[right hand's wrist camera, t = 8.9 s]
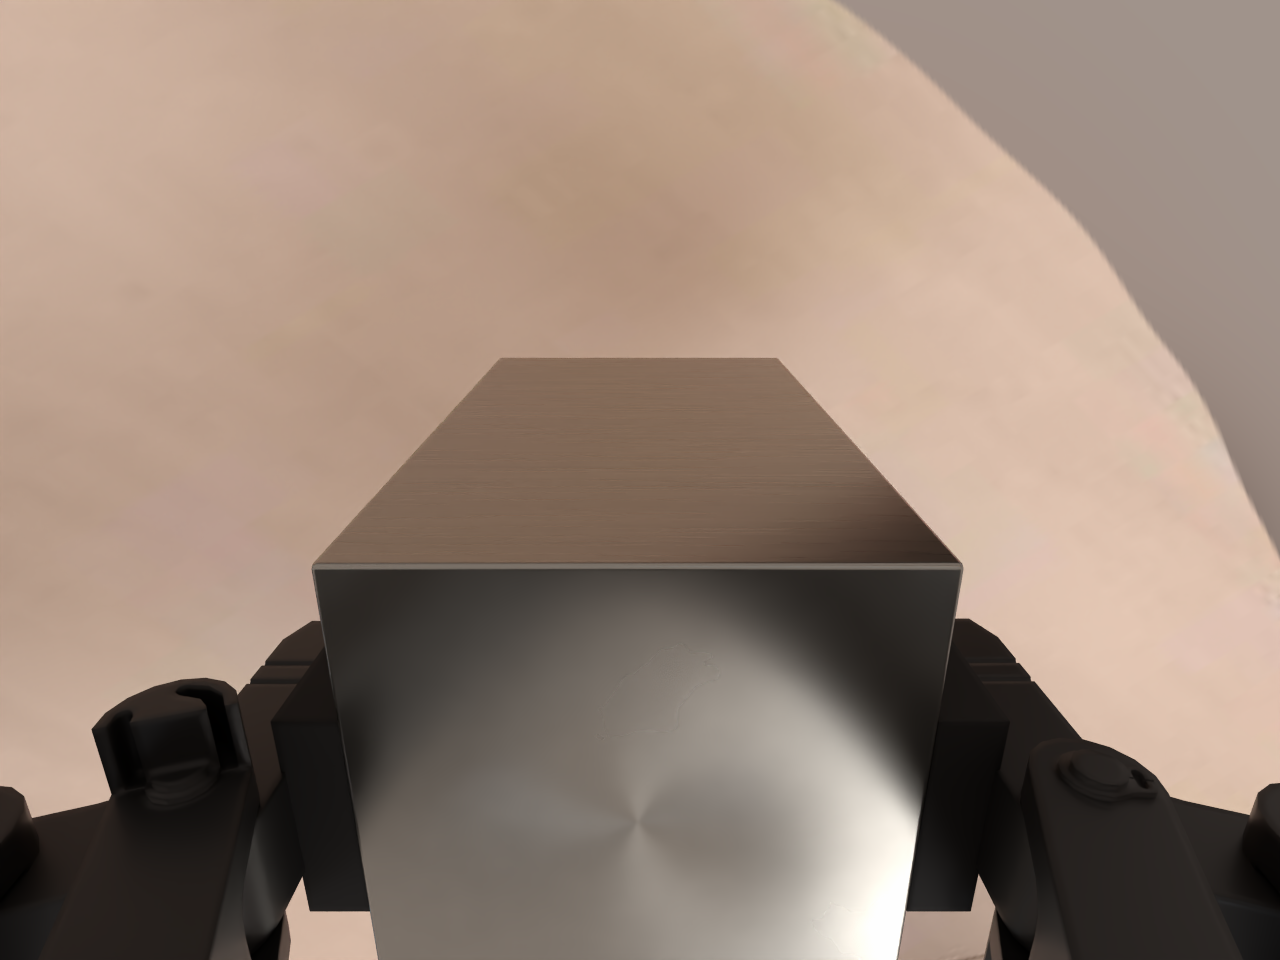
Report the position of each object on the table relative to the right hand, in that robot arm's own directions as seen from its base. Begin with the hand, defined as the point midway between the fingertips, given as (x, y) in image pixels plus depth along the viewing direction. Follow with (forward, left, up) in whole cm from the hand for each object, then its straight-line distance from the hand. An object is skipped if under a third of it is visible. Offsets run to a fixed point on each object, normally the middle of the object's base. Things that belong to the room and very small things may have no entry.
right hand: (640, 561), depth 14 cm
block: (0, 0, -4) cm, 4 cm away
